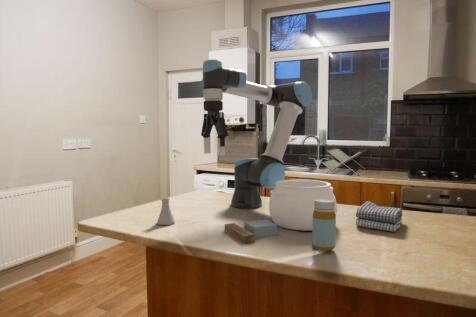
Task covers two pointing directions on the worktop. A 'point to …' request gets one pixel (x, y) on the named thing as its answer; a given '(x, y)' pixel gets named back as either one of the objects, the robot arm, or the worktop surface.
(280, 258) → the worktop surface
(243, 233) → the block
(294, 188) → the pot
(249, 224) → the slab
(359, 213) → the towel
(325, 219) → the bottle
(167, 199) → the flask
